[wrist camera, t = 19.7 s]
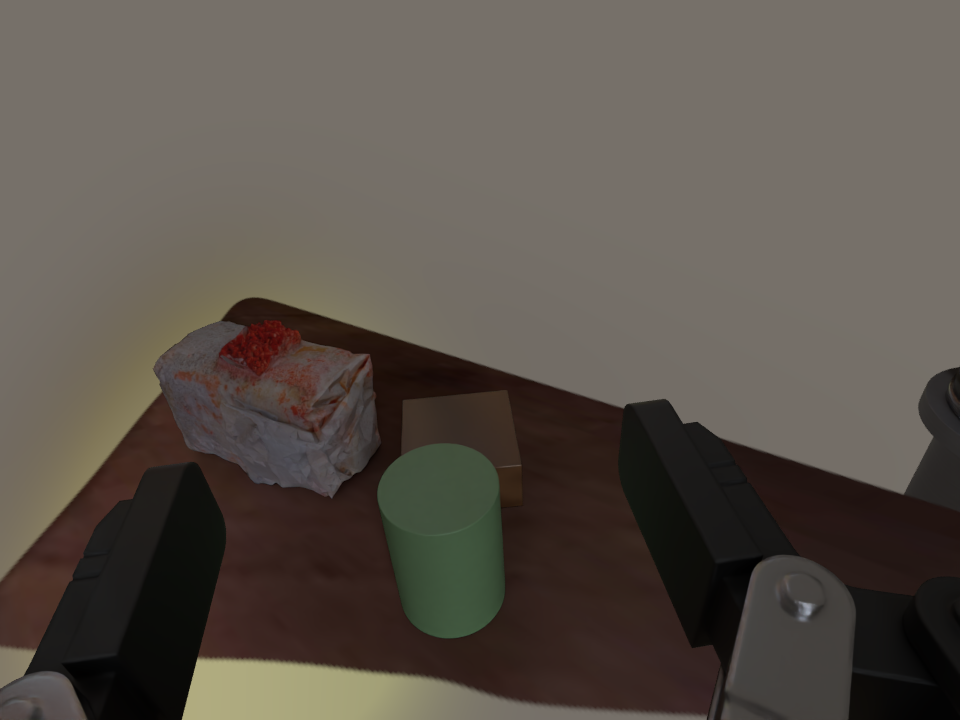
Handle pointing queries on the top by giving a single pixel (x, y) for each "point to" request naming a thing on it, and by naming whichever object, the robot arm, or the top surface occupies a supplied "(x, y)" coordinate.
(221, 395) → the food item
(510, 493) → the walnut block
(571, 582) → the top surface
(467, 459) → the green tin
